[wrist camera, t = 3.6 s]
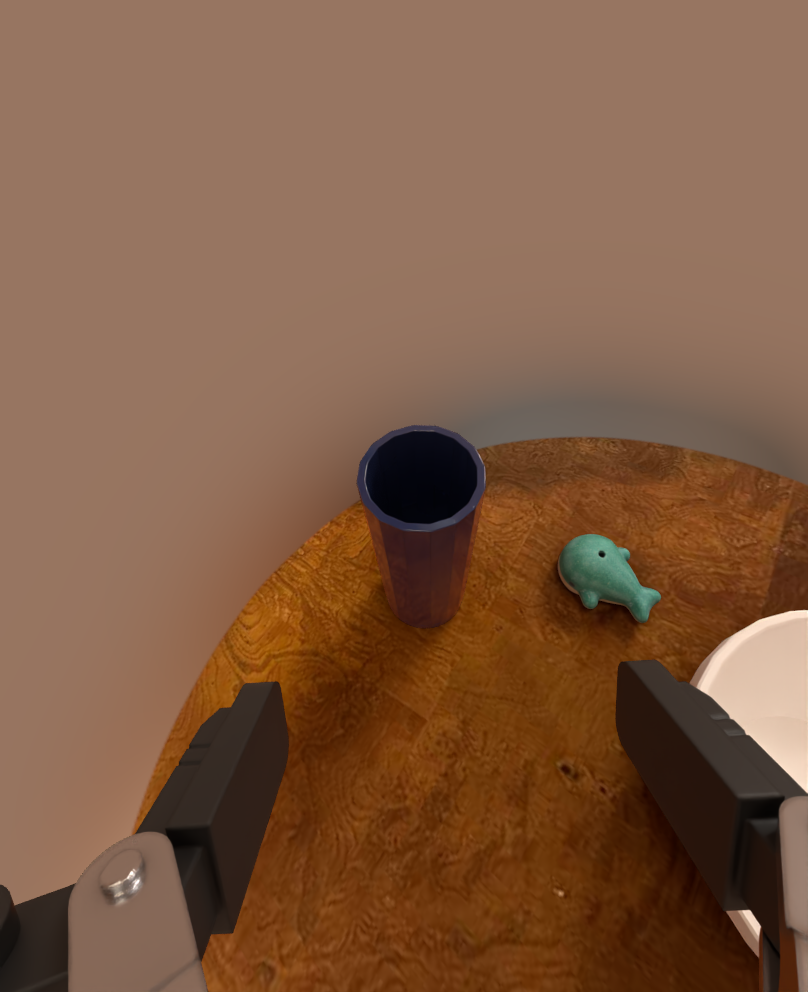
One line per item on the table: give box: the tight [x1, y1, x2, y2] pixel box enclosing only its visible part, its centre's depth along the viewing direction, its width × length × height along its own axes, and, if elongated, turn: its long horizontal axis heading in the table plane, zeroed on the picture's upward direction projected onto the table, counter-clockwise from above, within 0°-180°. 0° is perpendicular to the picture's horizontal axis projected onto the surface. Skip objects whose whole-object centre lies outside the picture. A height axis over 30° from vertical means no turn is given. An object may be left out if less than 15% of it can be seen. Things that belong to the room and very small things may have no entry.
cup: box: [357, 425, 486, 628], centre depth 27 cm, size 6×6×16 cm
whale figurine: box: [558, 534, 661, 623], centre depth 32 cm, size 6×7×4 cm
